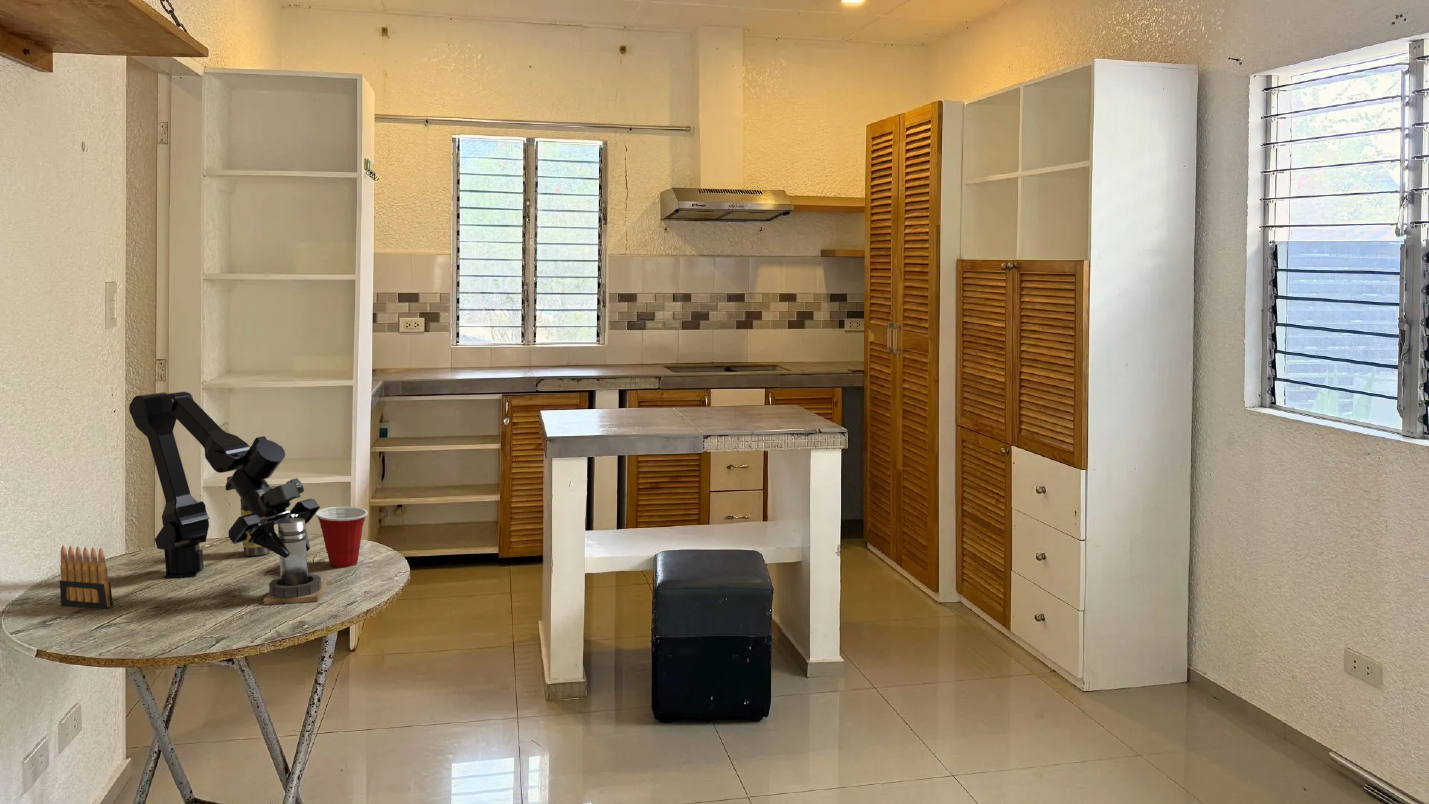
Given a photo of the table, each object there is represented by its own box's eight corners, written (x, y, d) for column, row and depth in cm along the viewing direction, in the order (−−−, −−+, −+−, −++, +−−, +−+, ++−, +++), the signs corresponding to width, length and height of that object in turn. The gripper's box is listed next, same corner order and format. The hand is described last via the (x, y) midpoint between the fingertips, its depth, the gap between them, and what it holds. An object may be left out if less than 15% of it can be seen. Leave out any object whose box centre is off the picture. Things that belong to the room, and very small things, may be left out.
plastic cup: (354, 572, 236) (351, 517, 235) (308, 569, 238) (305, 515, 237) (379, 558, 247) (376, 506, 245) (335, 556, 249) (332, 504, 247)
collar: (263, 604, 215) (262, 589, 215) (275, 589, 225) (274, 574, 224) (317, 601, 217) (316, 586, 216) (326, 586, 226) (325, 572, 226)
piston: (282, 589, 217) (279, 525, 215) (279, 582, 222) (276, 519, 220) (309, 586, 219) (306, 522, 218) (306, 579, 224) (303, 516, 222)
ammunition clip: (60, 605, 215) (55, 546, 214) (68, 602, 217) (62, 543, 215) (106, 609, 213) (100, 549, 211) (113, 606, 214) (108, 546, 213)
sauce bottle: (275, 554, 251) (269, 468, 248) (245, 558, 248) (239, 471, 245) (271, 548, 256) (265, 463, 254) (242, 551, 253) (236, 466, 251)
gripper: (234, 476, 211) (278, 539, 207) (311, 460, 227) (353, 518, 224) (209, 512, 215) (251, 574, 212) (286, 493, 232) (326, 551, 228)
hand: (297, 553), depth 219 cm, fingers closed on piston, 5 cm apart
